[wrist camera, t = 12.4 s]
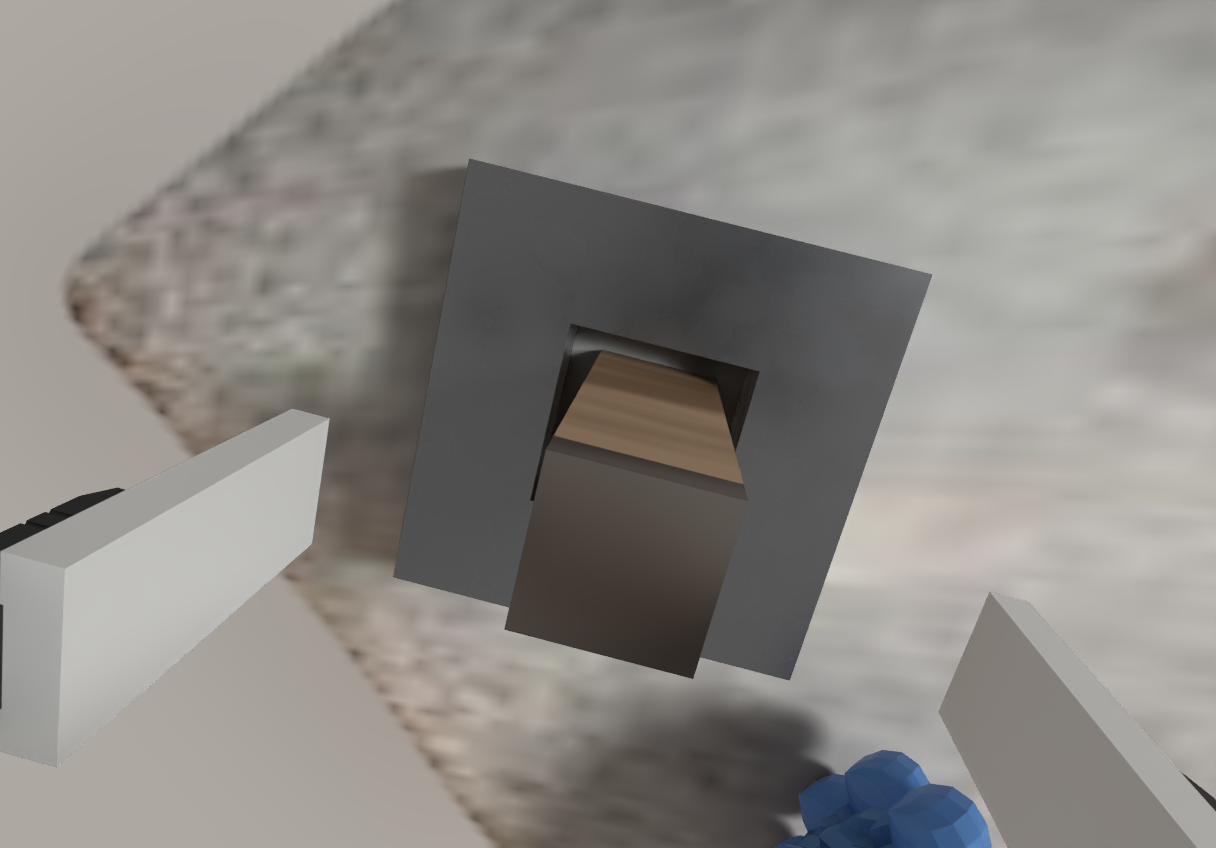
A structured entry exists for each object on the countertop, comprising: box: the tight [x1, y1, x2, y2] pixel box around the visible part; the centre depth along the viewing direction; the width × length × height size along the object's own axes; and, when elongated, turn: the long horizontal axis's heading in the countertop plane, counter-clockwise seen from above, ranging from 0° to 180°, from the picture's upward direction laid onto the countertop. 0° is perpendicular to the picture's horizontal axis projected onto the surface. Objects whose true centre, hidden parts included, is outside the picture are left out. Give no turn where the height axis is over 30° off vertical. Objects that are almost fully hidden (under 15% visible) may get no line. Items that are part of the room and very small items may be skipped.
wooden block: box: [505, 350, 748, 679], centre depth 21 cm, size 4×4×12 cm
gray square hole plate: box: [393, 159, 932, 680], centre depth 26 cm, size 14×14×2 cm
